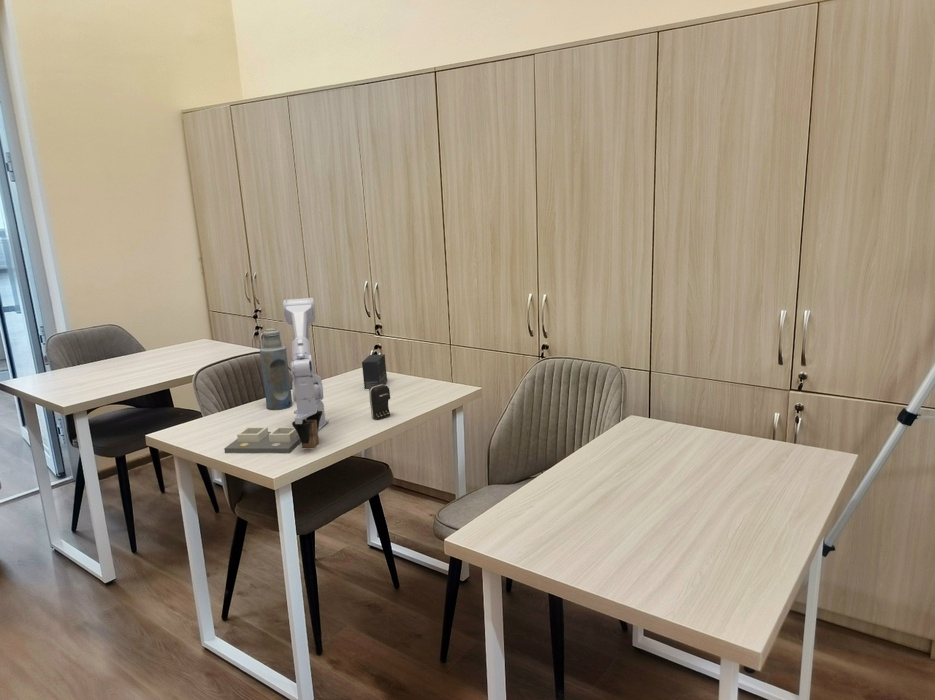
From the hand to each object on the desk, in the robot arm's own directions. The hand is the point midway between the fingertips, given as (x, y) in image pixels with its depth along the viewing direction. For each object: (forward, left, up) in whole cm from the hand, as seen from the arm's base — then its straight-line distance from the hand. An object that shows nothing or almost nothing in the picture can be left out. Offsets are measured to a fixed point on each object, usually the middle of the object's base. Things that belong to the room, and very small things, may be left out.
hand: (309, 438), depth 206 cm
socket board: (-1, -15, -2) cm, 15 cm away
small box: (-70, +2, -3) cm, 70 cm away
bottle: (-42, -28, -3) cm, 51 cm away
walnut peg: (0, 0, -2) cm, 2 cm away
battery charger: (-28, +16, -3) cm, 32 cm away
